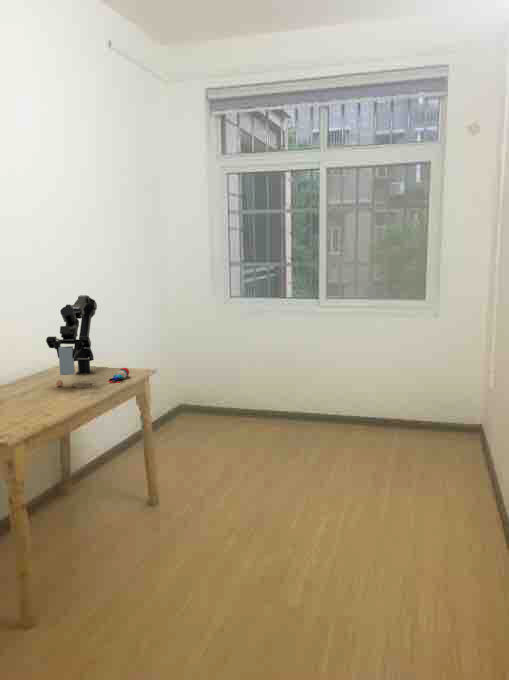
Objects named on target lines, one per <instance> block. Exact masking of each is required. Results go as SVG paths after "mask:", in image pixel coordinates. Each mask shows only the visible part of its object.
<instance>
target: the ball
mask: <svg viewBox="0 0 509 680" xmlns="http://www.w3.org/2000/svg"><path fill="white" fill-rule="evenodd" d="M55 385H56V386H57V387H59V388H60V387H62V386H63V385H64V382H63V380H60V379H59V380H56V382H55Z"/></svg>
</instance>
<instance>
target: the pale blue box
mask: <svg viewBox="0 0 509 680" xmlns="http://www.w3.org/2000/svg"><path fill="white" fill-rule="evenodd" d="M73 349H74V345H69V346H67V345H66V346H61V347H59V349H58V350H59V358H58V359H59V362H58V363H59V373H60V374H59V375H60V376H68V375H69V376H71V375H74V374H76V370H75V368H76V367H75V361H74V358H73V357H72V356H73Z"/></svg>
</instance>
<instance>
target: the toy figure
mask: <svg viewBox="0 0 509 680" xmlns="http://www.w3.org/2000/svg"><path fill="white" fill-rule="evenodd" d="M129 374H130V370H129V368H127V367H122V368H120V369H119V370H118V371H117V372H116V373H115V374H114V375H113V377H112V378H109V379H108V381H107V382H110V383H109V384H115V383H120V382H121V383H122V382H123V381H124V380H125V379H127V378H128V377H129ZM126 377H127V378H126ZM114 382H115V383H114ZM121 383H120V384H121Z"/></svg>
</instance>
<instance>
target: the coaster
mask: <svg viewBox="0 0 509 680" xmlns="http://www.w3.org/2000/svg"><path fill="white" fill-rule="evenodd" d="M93 384H94V382H93V381H79V382H78V381H77V382H74V383H73V384H72V386H74V388H77V387H84V388H89V386H90V387H93V386H94V385H93ZM92 385H93V386H92Z"/></svg>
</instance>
